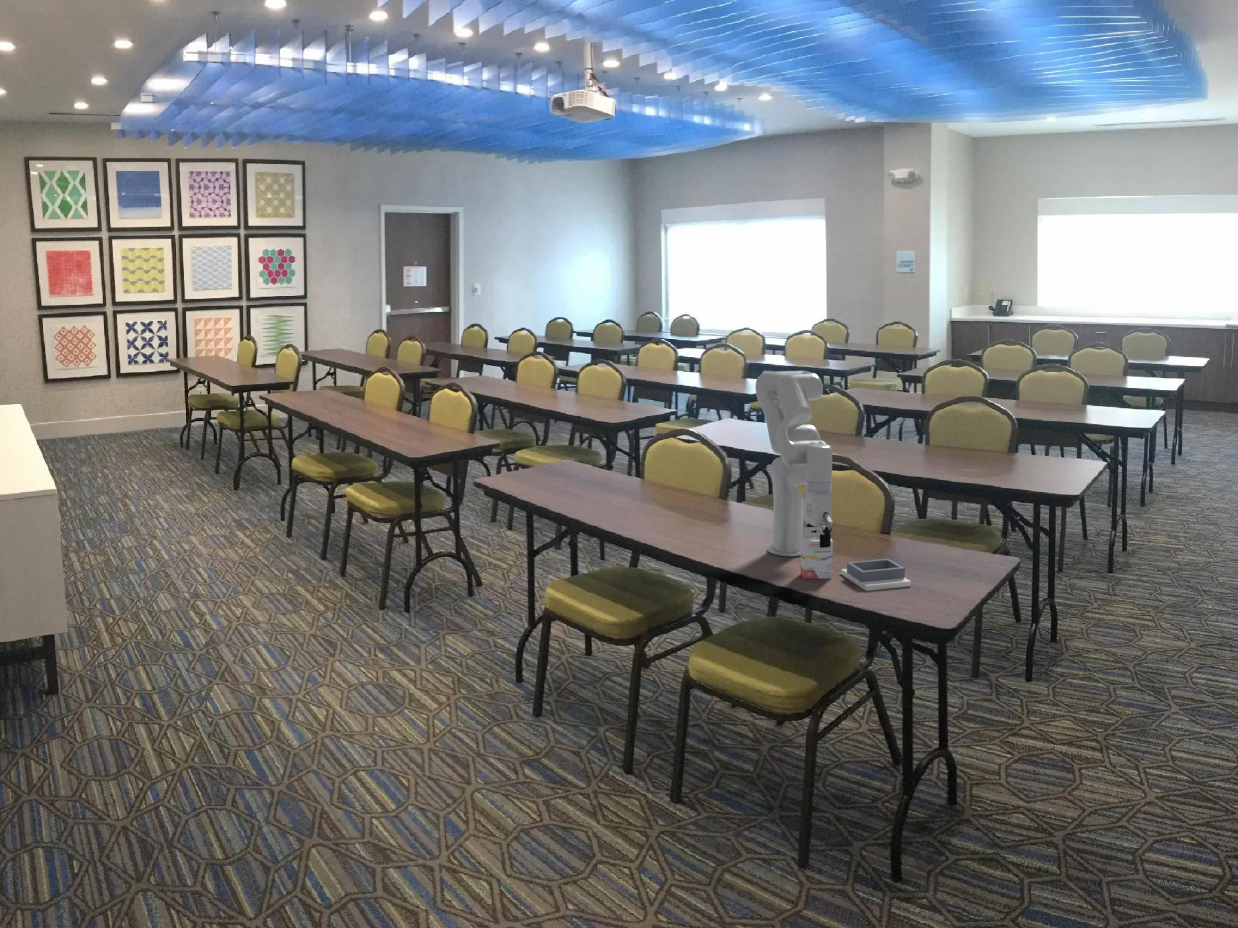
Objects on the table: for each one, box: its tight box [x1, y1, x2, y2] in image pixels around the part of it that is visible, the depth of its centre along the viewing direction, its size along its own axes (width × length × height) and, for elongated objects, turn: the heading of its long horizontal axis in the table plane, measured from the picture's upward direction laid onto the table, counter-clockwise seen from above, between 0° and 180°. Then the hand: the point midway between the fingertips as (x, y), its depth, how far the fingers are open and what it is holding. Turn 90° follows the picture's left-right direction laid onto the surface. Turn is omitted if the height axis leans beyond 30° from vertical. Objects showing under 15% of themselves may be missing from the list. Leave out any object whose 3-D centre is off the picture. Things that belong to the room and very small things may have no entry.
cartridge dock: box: [840, 558, 912, 592], centre depth 281 cm, size 16×14×4 cm
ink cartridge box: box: [800, 526, 834, 580], centre depth 284 cm, size 9×5×15 cm, turn 92°
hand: (817, 543), depth 283 cm, fingers open, 9 cm apart
